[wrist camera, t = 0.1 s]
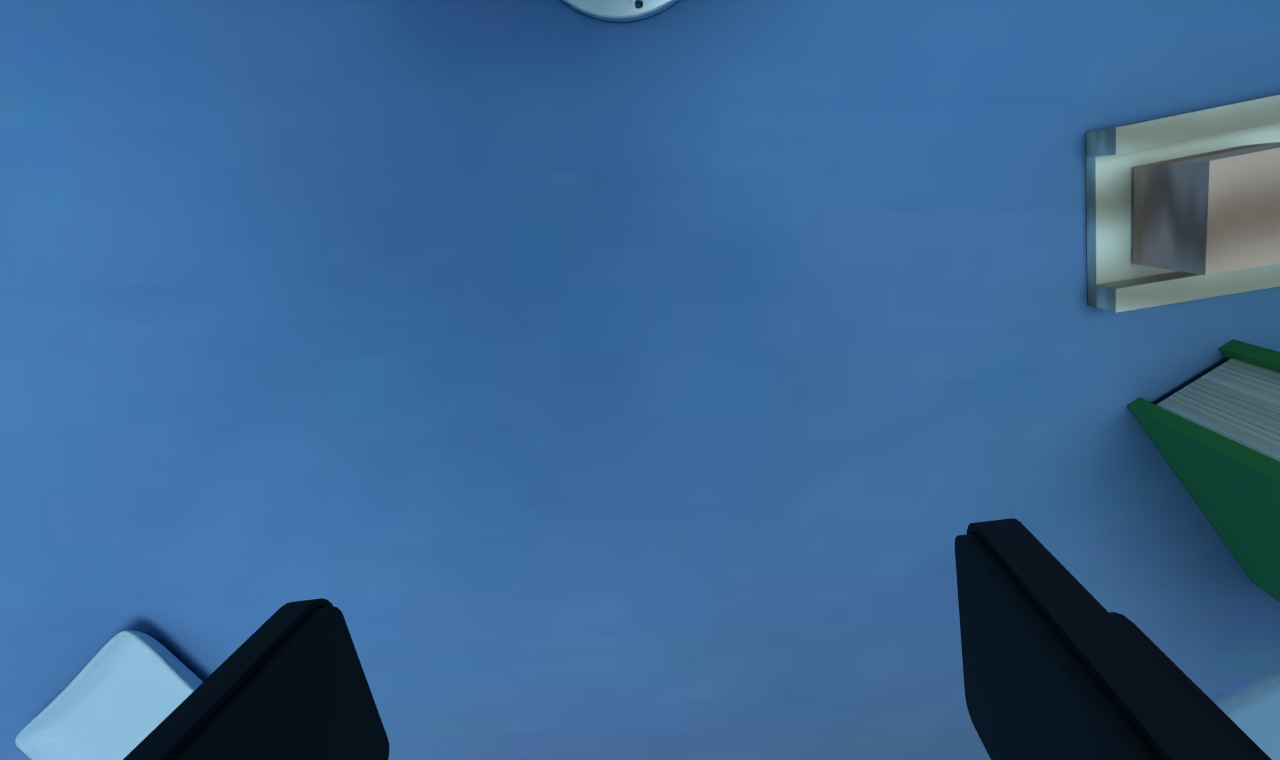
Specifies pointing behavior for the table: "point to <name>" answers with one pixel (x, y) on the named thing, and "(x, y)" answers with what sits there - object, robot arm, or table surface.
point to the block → (1209, 211)
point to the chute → (1113, 202)
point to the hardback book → (1229, 453)
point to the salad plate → (110, 702)
